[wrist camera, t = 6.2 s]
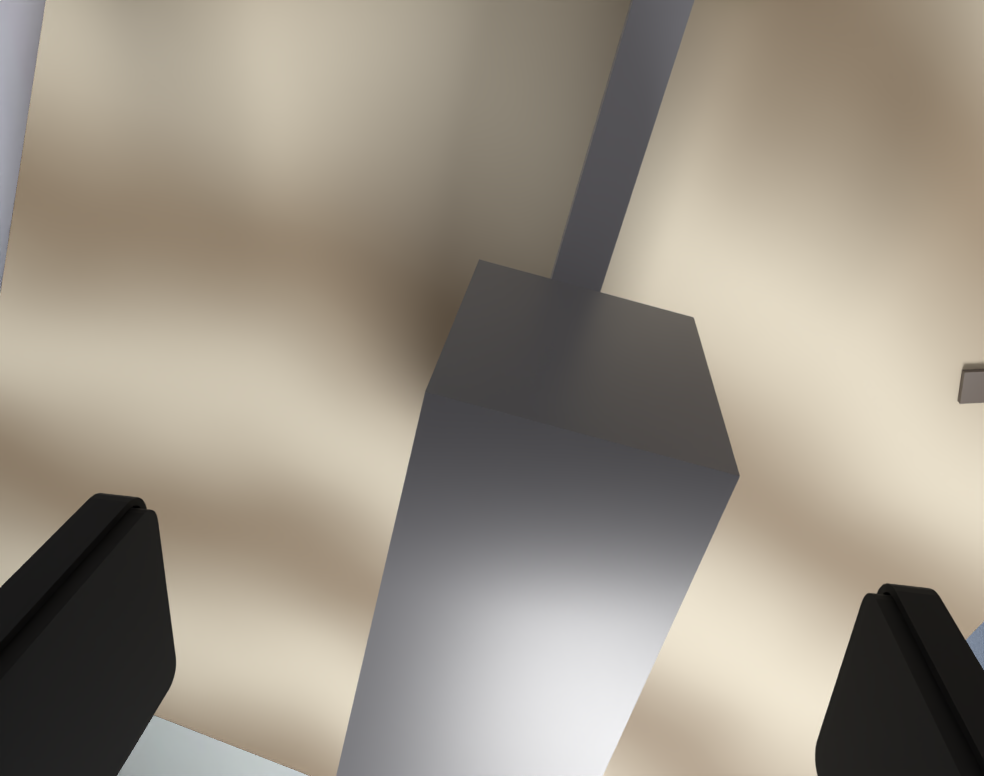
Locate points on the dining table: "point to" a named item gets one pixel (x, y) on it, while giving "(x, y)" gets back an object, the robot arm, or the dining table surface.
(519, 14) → the wooden cutting board
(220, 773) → the dining table surface
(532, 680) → the key
